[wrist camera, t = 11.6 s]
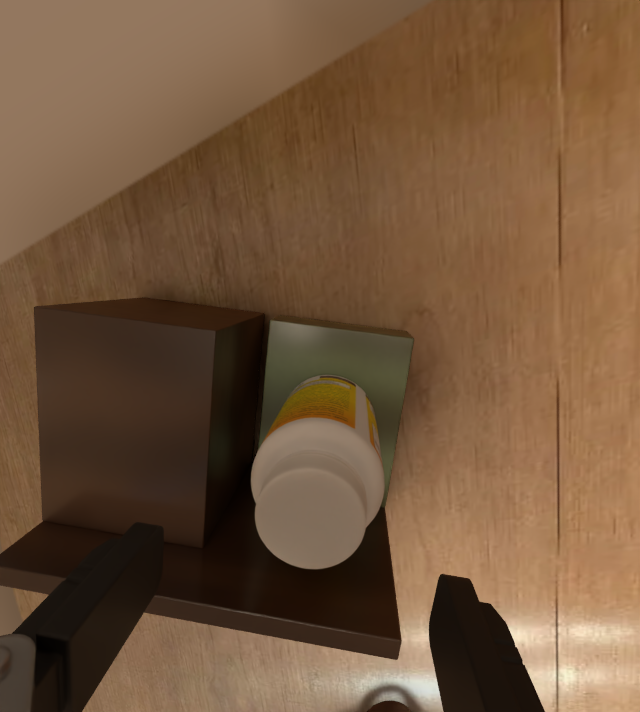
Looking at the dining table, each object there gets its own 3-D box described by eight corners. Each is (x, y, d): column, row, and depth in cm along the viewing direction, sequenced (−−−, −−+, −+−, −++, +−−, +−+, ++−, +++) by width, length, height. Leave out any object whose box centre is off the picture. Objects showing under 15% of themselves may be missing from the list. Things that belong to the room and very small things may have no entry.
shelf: (143, 297, 26) (-34, 311, 14) (407, 331, 25) (454, 378, 13) (139, 457, 28) (-13, 583, 17) (379, 496, 27) (398, 661, 15)
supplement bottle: (266, 410, 23) (199, 508, 13) (333, 353, 22) (315, 413, 12) (325, 475, 24) (303, 616, 14) (394, 422, 23) (424, 534, 13)
